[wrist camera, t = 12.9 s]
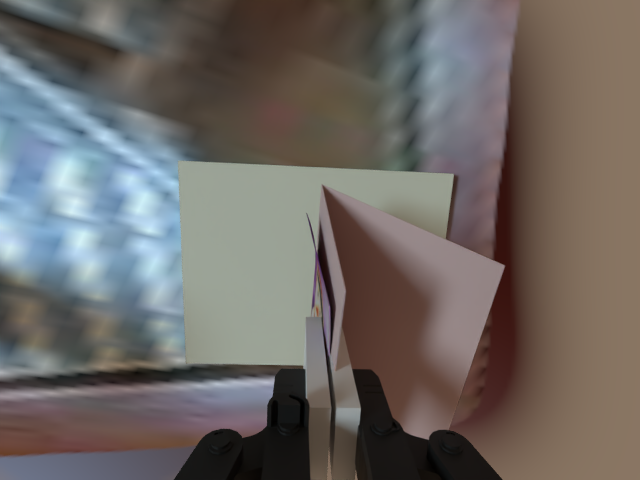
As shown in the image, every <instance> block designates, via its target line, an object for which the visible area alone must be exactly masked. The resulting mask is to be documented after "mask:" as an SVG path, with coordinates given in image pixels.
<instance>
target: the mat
mask: <svg viewBox="0 0 640 480" xmlns="http://www.w3.org/2000/svg"><path fill="white" fill-rule="evenodd" d="M178 172H179V197H180V223H181V249H182V274H183V300H184V325H185V351H186V363H199V364H258V365H304V344H305V321H306V317H311V305H312V293H313V281H314V269H315V247H314V243H313V239H312V235H311V230H310V226H309V222H308V218H307V214H308V217H309V220H310V223H311V227H312V231H313V235H314V240H315V246H316V245H317V233H318V221H319V209H320V197H321V185H322V184H323V185H325V186H327V187H330V188H332V189H334V190H336V191H339V192H341V193H343V194H345V195H348V196H350V197H352V198H354V199H357V200H359V201H361V202H363V203H366V204H368V205H370V206H372V207H375V208H377V209H379V210H381V211H384V212H386V213H388V214H390V215H392V216H395V217H397V218H399V219H401V220H404V221H406V222H408V223H410V224H413V225H415V226H417V227H419V228H422V229H424V230H426V231H428V232H431V233H433V234H435V235H437V236H440V237H442V238H444V239H446V232H447V224H448V216H449V209H450V201H451V193H452V186H453V178H454V174H447V173H426V172H406V171H385V170H364V169H343V168H322V167H301V166H280V165H260V164H239V163H218V162H197V161H178ZM306 213H307V214H306Z"/></svg>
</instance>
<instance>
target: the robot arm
mask: <svg viewBox="0 0 640 480" xmlns="http://www.w3.org/2000/svg"><path fill="white" fill-rule="evenodd" d="M328 451H329V452H330V463H331V474H332V480H354V479H355V470H356V472H357V478H358V480H502V479H501V477H500V476H499V475H498V474H497V473H496V472H495V471H494V469H493V468H492V467H491V466H490V465H489V464H488V463H487V461H486V460H485V459H484V458H483V457H482V456H481V455H480V453H479V452H478V451H477V450H476V449H475V448H474V447H473V445H472V444H471V443H470V442H469V441H468V440H467V439H466V438H464V437H463V436H462V435H460V434H458V433H456V432H454V431H450V430H437V431H434V432H432V433H431V435H430V436H429V440H428V439H424V438H420V437H416V436H413V435H410V434H408V433H406V432H404V431H403V428H402V426H401V425H400V423H399V422H398V421H396V420H395V419H394V418H393V417H392V414H391V411H390V408H389V405H388V402H387V399H386V396H385V394H384V391H383V388H382V385H381V382H380V379H379V377H378V376H377V375H376V374H375V373H374V372H373V371H372V370H371V369H352V367H351V363H350V359H349V354H348V350H347V345H346V341H345V337H344V332H343V328H342V327H341V334H340V342H339V349H338V357H337V365H336V371H334V366H333V361H332V356H331V351H330V355H329V368H328V374H327V365H326V356H325V347H324V338H323V329H322V320H321V317H306V321H305V344H304V369H281V370H280V371H279V372H278V373H277V375H276V376H275V382H274V390H273V397H272V398H271V399H270V400H269V403H268V408H267V426H266V428H264V429H263V430H262V431H261V432H259V433H257V434H255V435H252V436H249V437H245V438H242V436H241V435H240V434H239V433H238V432H236V431H234V430H231V429H219V430H215V431H212V432H210V433H209V434H207V435H205V436H204V437H203V438H202V439H201V440H200V442H199V443H198V445H197V446H196V448H195V449H194V451H193V452H192V454H191V455H190V457H189V458H188V460H187V461H186V463H185V464H184V465H183V467H182V468H181V470H180V471H179V473H178V474H177V476H176V477H175V479H174V480H327V467H328Z"/></svg>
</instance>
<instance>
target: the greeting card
mask: <svg viewBox="0 0 640 480" xmlns="http://www.w3.org/2000/svg"><path fill="white" fill-rule="evenodd" d="M306 214H307V213H306ZM307 218H308V222H309V226H310V230H311V235H312V239H313V243H314V247H315V269H314V281H313V293H312V305H311V317H321V320H322V329H323V338H324V347H325V356H326V365H327V374H328V368H329V355H330V351H331V356H332V361H333V366H334V371H336V365H337V357H338V349H339V342H340V334H341V327H342V328H343V332H344V337H345V341H346V345H347V350H348V354H349V359H350V363H351V367H352V369H371V370H372V371H373V372H374V373H375V374H376V375H377V376H378V377H379V379H380V382H381V385H382V388H383V391H384V394H385V396H386V399H387V402H388V405H389V408H390V411H391V414H392V417H393V418H394V419H395V420H396V421H398V422H399V423H400V425H401V426H402V428H403V431H404V432H406V433H408V434H410V435H413V436H416V437H420V438H424V439H428V440H429V436H430V435H431V433H432V432H434V431H437V430H449V428H450V425H451V422H452V419H453V416H454V414H455V411H456V408H457V405H458V402H459V399H460V396H461V393H462V390H463V387H464V384H465V382H466V379H467V376H468V373H469V370H470V367H471V364H472V361H473V358H474V355H475V352H476V350H477V347H478V344H479V341H480V338H481V335H482V332H483V329H484V326H485V323H486V320H487V318H488V315H489V312H490V309H491V306H492V303H493V300H494V297H495V294H496V291H497V288H498V285H499V283H500V280H501V277H502V274H503V271H504V268H505V266H504V265H503V264H500V263H498V262H496V261H494V260H491V259H489V258H487V257H485V256H482V255H480V254H478V253H476V252H473V251H471V250H469V249H467V248H464V247H462V246H460V245H458V244H455V243H453V242H451V241H449V240H446V239H444V238H442V237H440V236H437V235H435V234H433V233H431V232H428V231H426V230H424V229H422V228H419V227H417V226H415V225H413V224H410V223H408V222H406V221H404V220H401V219H399V218H397V217H395V216H392V215H390V214H388V213H386V212H384V211H381V210H379V209H377V208H375V207H372V206H370V205H368V204H366V203H363V202H361V201H359V200H357V199H354V198H352V197H350V196H348V195H345V194H343V193H341V192H339V191H336V190H334V189H332V188H330V187H327V186H325V185H323V184H322V185H321V197H320V209H319V221H318V233H317V245H316V246H315V240H314V235H313V231H312V227H311V223H310V220H309V217H308V214H307Z"/></svg>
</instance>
